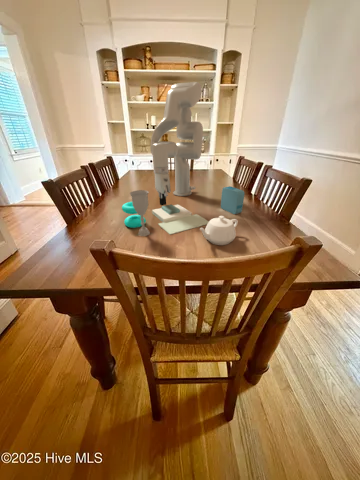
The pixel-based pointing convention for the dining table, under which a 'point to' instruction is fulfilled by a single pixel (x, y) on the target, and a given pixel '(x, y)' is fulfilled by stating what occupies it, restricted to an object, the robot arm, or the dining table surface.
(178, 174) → the robot arm
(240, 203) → the data package
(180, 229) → the mat
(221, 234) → the teapot
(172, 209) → the tile
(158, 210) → the block
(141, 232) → the chalice
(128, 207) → the donuts
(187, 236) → the dining table surface
